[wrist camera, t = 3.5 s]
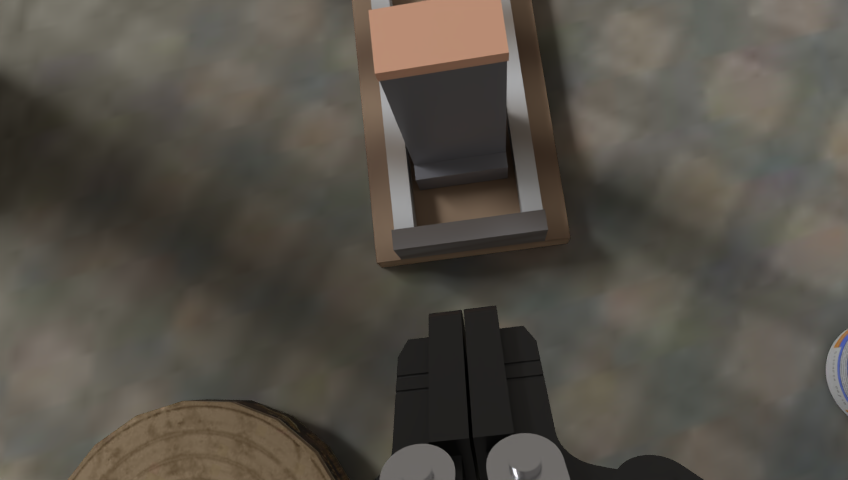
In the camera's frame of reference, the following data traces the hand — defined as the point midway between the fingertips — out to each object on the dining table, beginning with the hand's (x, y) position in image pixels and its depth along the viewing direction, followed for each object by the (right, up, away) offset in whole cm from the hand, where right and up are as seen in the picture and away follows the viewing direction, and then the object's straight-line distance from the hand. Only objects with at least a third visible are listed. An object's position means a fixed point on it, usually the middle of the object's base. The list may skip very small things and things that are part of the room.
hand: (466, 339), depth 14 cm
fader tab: (+1, +7, +20) cm, 21 cm away
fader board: (0, +12, +23) cm, 26 cm away
